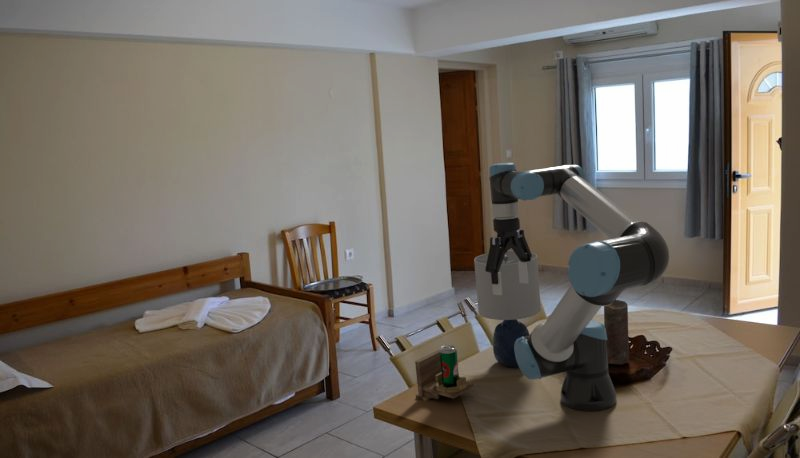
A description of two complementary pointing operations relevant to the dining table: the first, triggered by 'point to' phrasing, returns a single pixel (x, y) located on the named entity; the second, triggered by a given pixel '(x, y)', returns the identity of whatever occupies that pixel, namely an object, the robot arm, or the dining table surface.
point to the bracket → (436, 379)
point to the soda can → (449, 366)
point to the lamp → (508, 302)
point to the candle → (617, 332)
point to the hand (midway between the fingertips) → (511, 288)
